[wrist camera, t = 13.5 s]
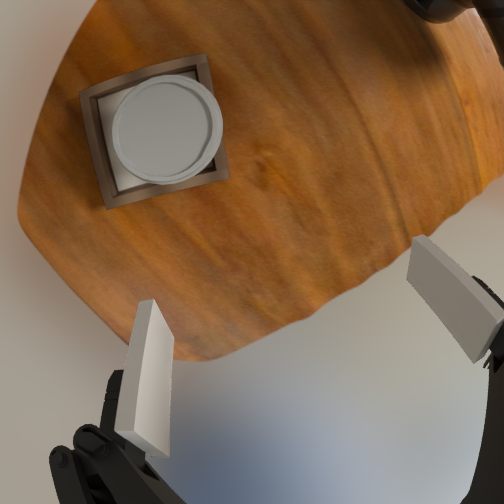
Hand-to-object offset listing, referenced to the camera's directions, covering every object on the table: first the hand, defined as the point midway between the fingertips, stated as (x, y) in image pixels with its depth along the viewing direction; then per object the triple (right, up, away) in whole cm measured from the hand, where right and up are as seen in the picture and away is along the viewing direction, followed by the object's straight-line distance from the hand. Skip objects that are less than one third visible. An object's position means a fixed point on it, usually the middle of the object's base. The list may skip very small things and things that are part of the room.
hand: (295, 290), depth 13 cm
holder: (-14, +17, +18) cm, 28 cm away
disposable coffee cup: (-11, +16, +17) cm, 26 cm away
